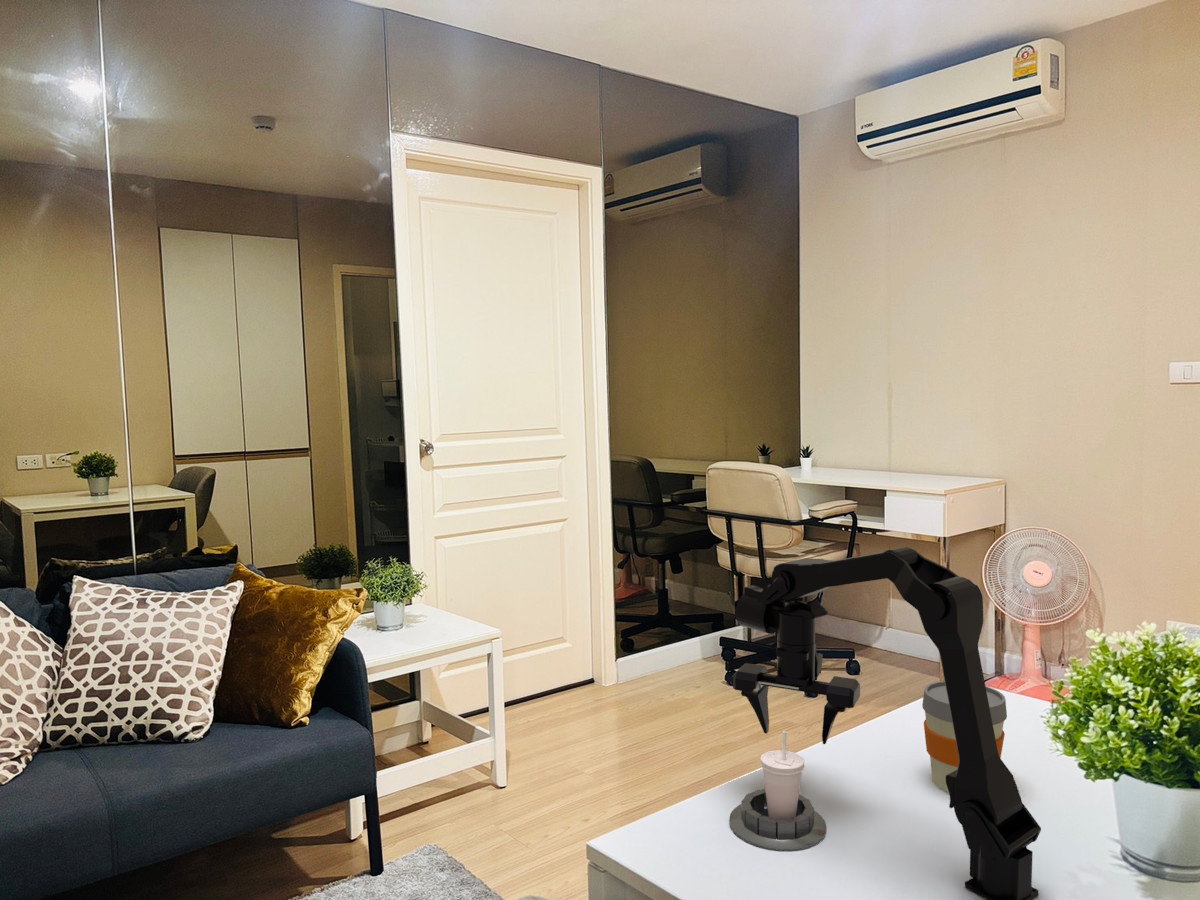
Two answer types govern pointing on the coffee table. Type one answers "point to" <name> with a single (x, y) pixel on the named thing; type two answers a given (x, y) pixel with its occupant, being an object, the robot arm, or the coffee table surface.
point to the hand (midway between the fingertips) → (795, 737)
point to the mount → (777, 824)
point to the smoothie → (782, 781)
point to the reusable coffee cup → (942, 730)
